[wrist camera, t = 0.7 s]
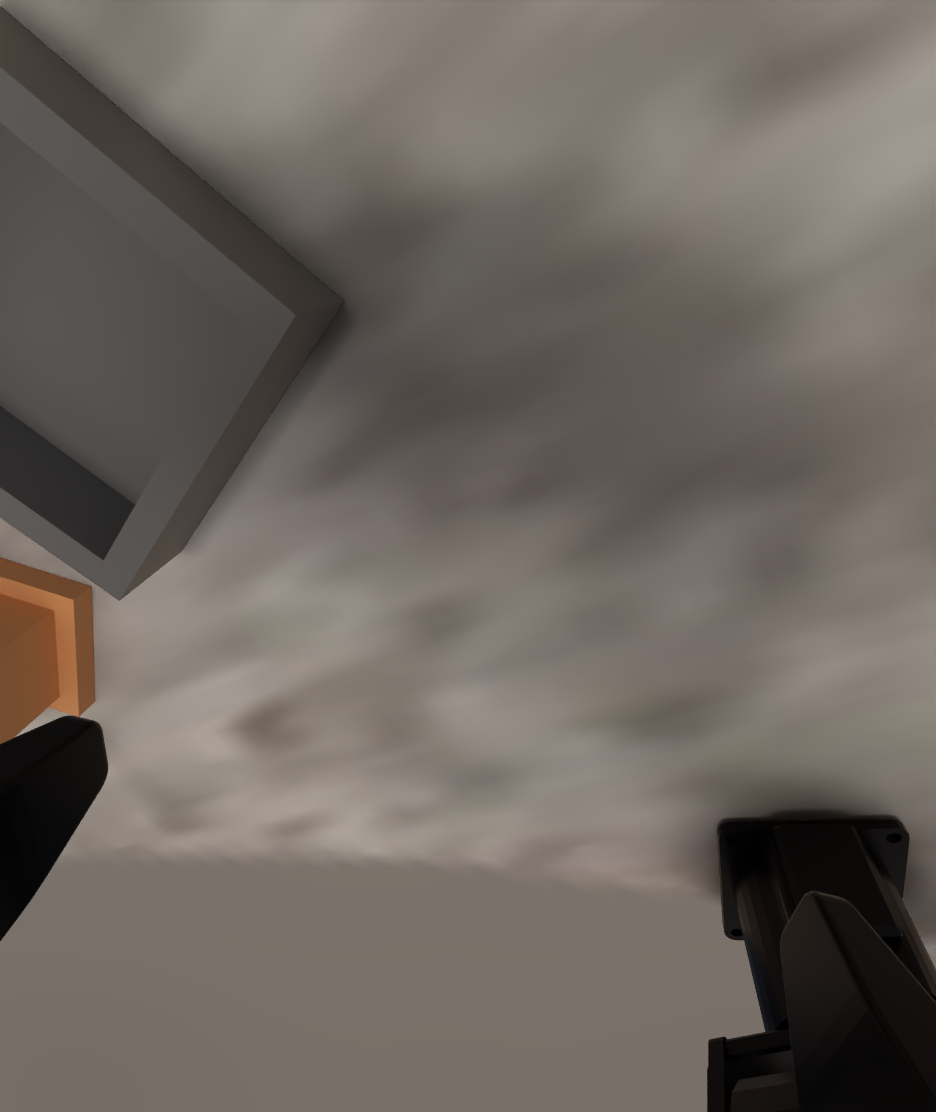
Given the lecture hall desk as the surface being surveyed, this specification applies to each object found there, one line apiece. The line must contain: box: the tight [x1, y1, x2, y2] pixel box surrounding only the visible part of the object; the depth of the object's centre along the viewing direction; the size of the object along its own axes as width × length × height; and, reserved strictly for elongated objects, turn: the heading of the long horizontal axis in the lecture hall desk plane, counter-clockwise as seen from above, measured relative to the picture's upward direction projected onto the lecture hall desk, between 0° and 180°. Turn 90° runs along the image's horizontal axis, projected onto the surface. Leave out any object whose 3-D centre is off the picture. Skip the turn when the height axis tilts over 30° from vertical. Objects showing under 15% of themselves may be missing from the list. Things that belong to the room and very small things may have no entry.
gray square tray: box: [0, 7, 344, 601], centre depth 18 cm, size 11×11×4 cm
